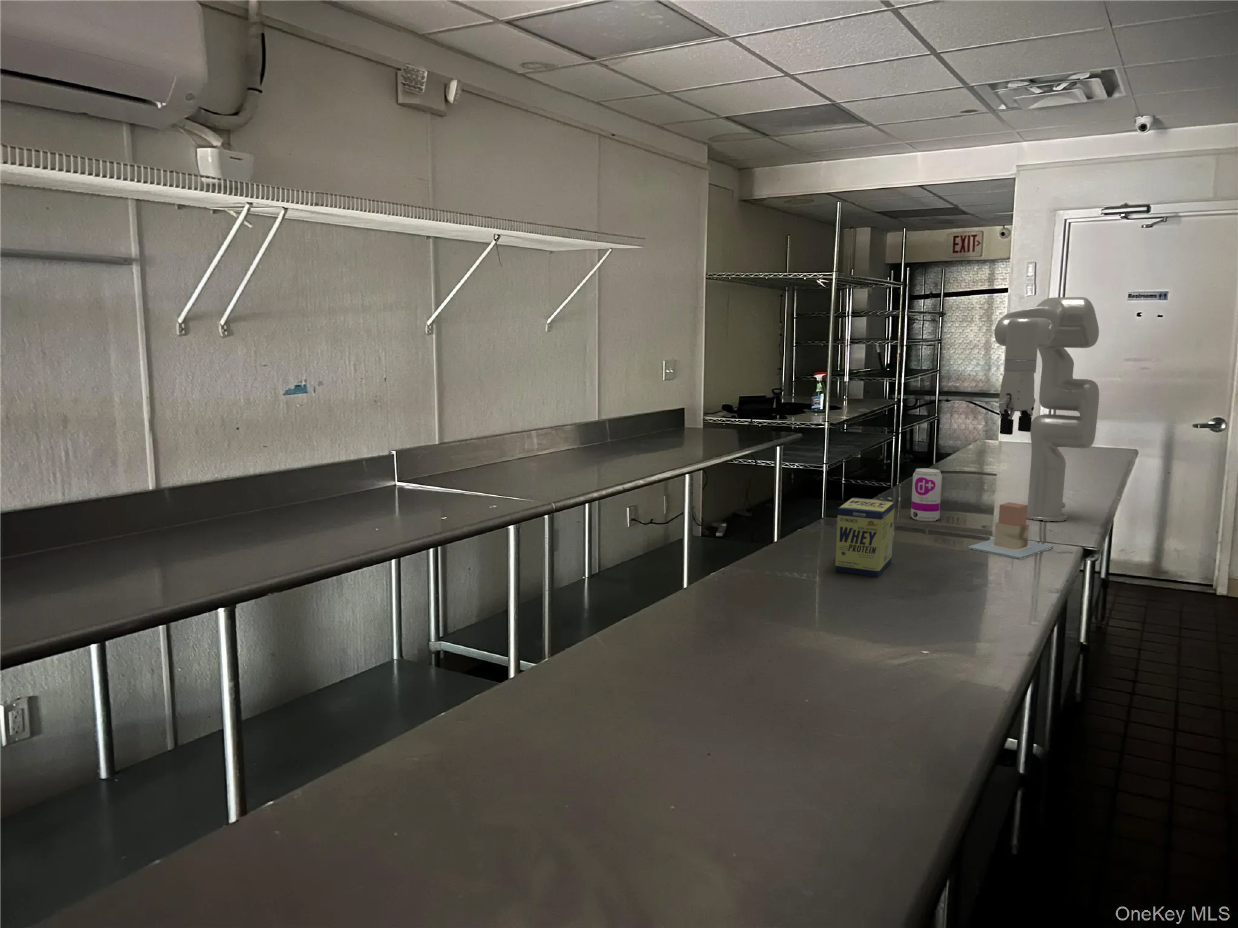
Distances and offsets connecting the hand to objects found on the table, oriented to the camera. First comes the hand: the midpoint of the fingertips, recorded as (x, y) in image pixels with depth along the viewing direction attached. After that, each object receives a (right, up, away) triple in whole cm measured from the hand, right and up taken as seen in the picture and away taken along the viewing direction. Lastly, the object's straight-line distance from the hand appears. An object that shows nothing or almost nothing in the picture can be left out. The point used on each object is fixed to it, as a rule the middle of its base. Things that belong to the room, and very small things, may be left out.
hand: (1015, 432), depth 231 cm
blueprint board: (0, -30, +2) cm, 30 cm away
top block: (0, -24, +1) cm, 24 cm away
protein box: (-44, -33, -16) cm, 57 cm away
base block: (0, -30, +2) cm, 30 cm away
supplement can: (-11, -25, +37) cm, 46 cm away
